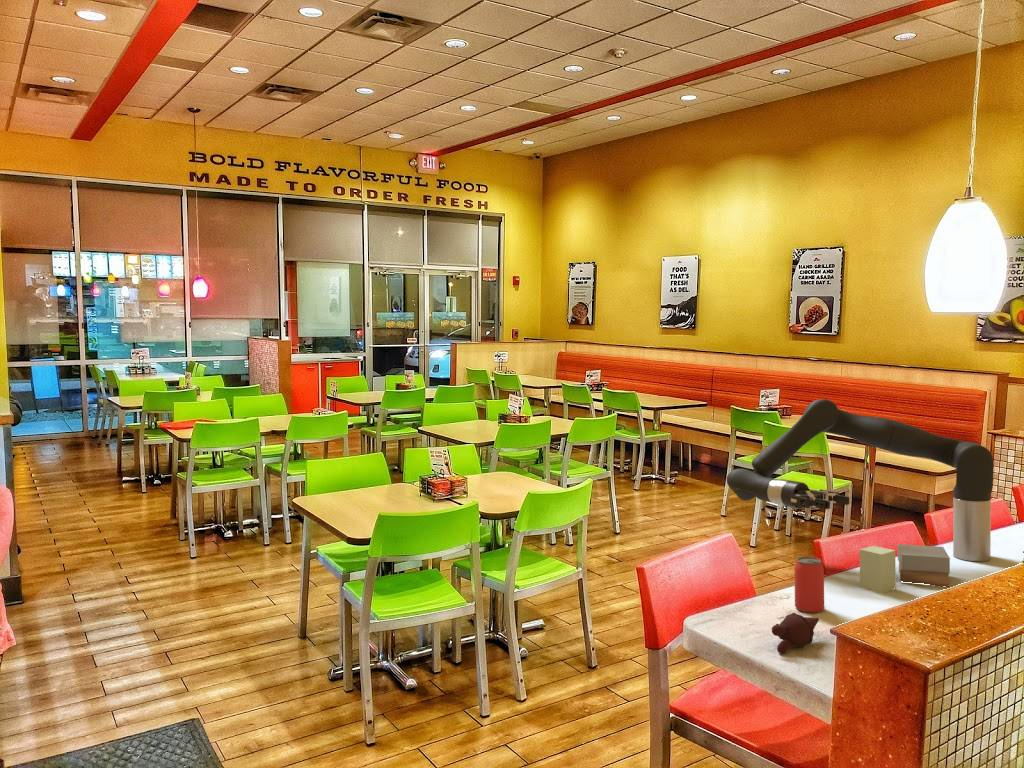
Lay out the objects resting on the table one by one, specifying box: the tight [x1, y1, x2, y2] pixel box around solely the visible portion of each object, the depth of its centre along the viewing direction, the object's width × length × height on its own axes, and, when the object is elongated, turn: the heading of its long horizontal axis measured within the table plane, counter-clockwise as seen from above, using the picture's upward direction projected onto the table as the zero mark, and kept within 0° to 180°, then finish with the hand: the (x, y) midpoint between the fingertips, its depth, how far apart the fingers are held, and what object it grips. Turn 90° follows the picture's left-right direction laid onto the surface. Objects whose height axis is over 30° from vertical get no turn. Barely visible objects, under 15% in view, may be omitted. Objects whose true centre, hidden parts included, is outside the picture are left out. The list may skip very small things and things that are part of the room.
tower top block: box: [897, 543, 951, 574], centre depth 202 cm, size 11×11×4 cm
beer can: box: [793, 556, 825, 614], centre depth 182 cm, size 7×7×12 cm
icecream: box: [771, 612, 820, 654], centre depth 161 cm, size 7×7×15 cm
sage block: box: [859, 545, 897, 594], centre depth 195 cm, size 6×6×10 cm
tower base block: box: [898, 562, 950, 588], centre depth 201 cm, size 11×11×4 cm
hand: (839, 503), depth 203 cm, fingers open, 8 cm apart
